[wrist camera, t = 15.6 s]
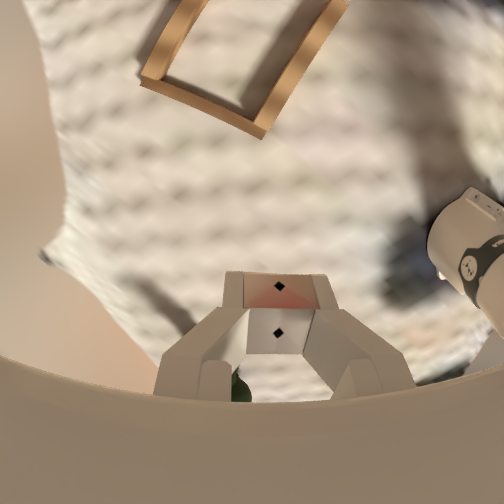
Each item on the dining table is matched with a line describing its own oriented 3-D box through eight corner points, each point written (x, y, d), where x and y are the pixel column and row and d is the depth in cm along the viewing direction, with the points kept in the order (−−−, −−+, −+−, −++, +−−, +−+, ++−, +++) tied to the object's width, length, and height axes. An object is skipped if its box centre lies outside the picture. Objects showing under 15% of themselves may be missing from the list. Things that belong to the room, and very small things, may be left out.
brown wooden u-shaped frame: (260, 137, 36) (262, 142, 33) (144, 85, 31) (135, 85, 28) (340, 10, 26) (349, 4, 23) (224, -44, 21) (222, -54, 18)
